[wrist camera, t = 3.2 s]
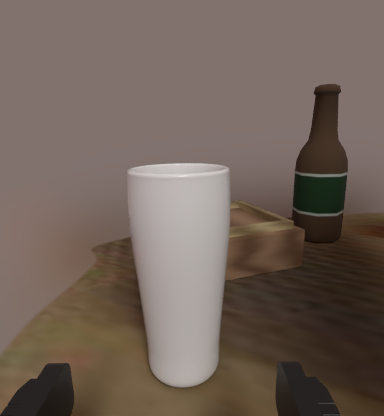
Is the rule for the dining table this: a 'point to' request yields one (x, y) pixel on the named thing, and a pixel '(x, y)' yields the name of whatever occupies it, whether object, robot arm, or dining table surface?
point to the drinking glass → (180, 264)
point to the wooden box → (261, 242)
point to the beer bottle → (321, 173)
